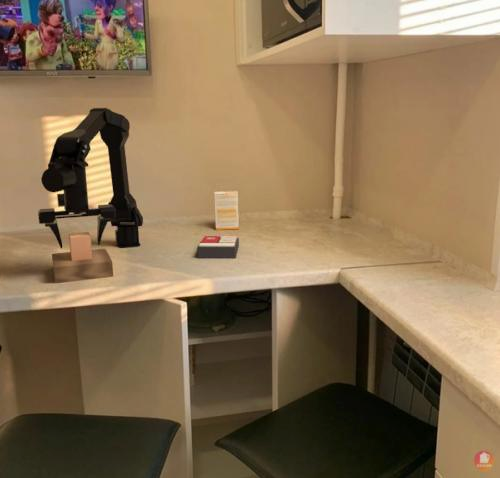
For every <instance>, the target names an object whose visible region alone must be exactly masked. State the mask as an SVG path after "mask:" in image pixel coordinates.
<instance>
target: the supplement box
mask: <svg viewBox="0 0 500 478" xmlns="http://www.w3.org/2000/svg"><path fill="white" fill-rule="evenodd" d="M213 195H214V197H213V198H214V199H213V200H214V220H215V222H214V223H215V230H216V231H222V230H223V231H224V230H225V231H226V230H239V229H240V225H239V223H240V221H239V193H238V190H220V191H219V190H217V191H214V193H213Z"/></svg>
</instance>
